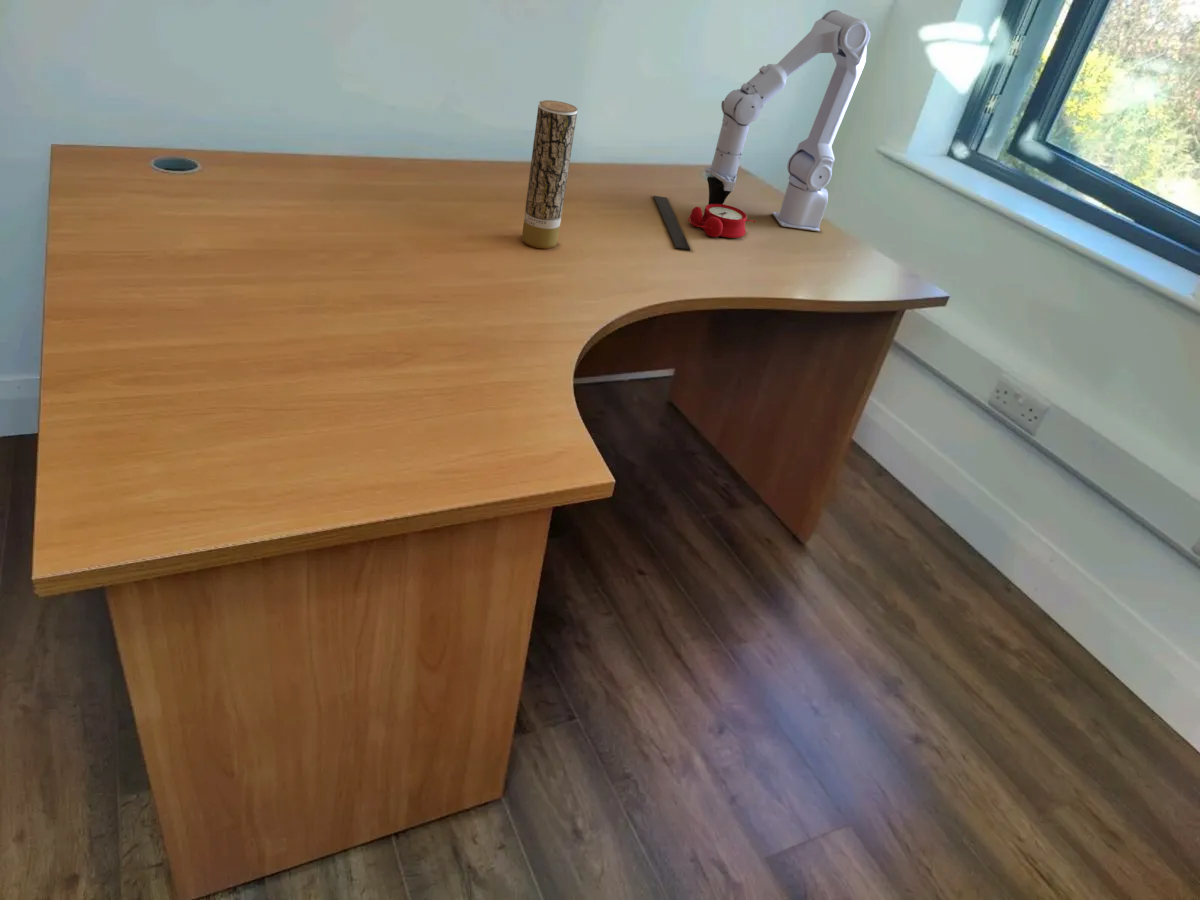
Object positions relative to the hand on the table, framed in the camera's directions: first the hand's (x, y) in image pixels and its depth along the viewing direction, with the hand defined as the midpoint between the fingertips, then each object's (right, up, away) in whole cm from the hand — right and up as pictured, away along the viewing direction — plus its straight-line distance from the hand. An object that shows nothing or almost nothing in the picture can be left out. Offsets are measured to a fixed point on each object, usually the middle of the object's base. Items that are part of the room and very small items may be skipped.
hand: (713, 212), depth 186 cm
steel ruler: (-10, -4, -6) cm, 12 cm away
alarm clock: (0, -5, -4) cm, 7 cm away
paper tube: (-37, -14, -28) cm, 48 cm away
